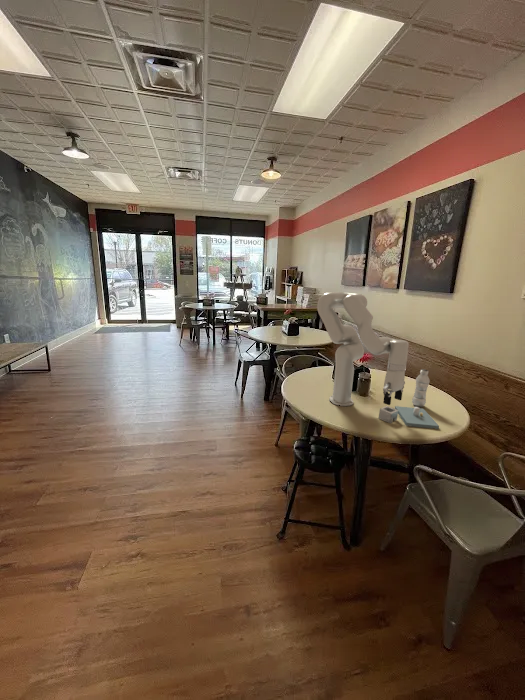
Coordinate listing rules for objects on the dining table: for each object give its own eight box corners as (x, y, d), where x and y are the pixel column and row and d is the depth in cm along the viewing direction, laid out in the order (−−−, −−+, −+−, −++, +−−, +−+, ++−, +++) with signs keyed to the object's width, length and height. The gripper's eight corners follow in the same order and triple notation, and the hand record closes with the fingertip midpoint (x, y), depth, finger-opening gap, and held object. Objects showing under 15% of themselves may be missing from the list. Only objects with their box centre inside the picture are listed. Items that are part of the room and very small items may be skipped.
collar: (385, 415, 144) (386, 405, 143) (396, 420, 139) (398, 410, 138) (378, 418, 140) (379, 408, 139) (390, 423, 136) (391, 413, 135)
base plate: (394, 408, 152) (396, 399, 150) (423, 411, 150) (425, 401, 148) (406, 425, 134) (408, 414, 133) (438, 429, 133) (440, 418, 131)
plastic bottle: (412, 407, 155) (418, 371, 150) (410, 402, 161) (416, 367, 156) (425, 409, 152) (432, 373, 147) (423, 404, 159) (430, 369, 154)
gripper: (398, 362, 141) (394, 395, 145) (378, 367, 131) (374, 403, 135) (414, 365, 135) (409, 400, 139) (394, 372, 125) (390, 408, 129)
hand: (392, 401), depth 137 cm, fingers open, 9 cm apart
